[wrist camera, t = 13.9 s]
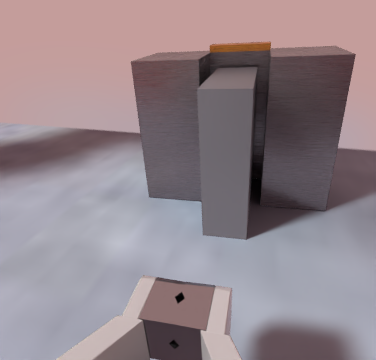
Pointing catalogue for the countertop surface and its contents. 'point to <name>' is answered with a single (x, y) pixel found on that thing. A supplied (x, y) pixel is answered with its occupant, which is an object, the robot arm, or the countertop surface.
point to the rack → (264, 118)
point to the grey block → (227, 149)
